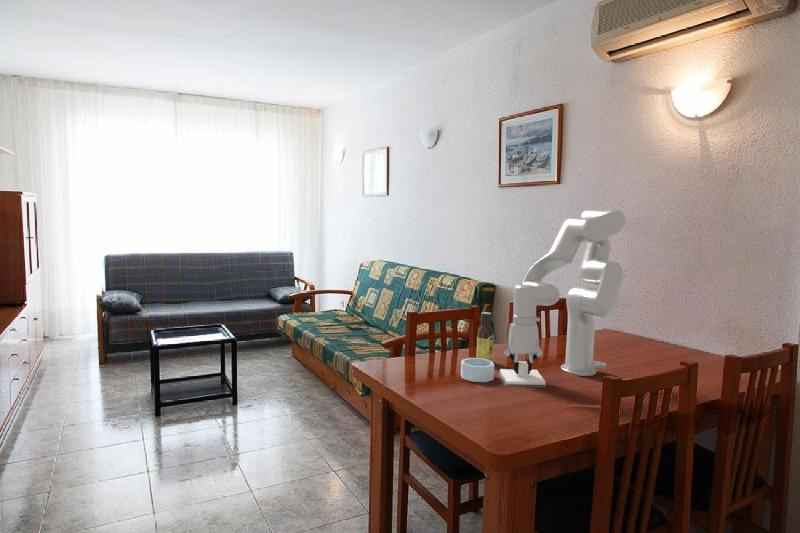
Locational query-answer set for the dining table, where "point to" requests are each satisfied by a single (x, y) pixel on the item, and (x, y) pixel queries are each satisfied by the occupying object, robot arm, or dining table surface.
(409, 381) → the dining table surface
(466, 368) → the bowl
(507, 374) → the lid
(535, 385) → the mat
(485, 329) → the sauce bottle
